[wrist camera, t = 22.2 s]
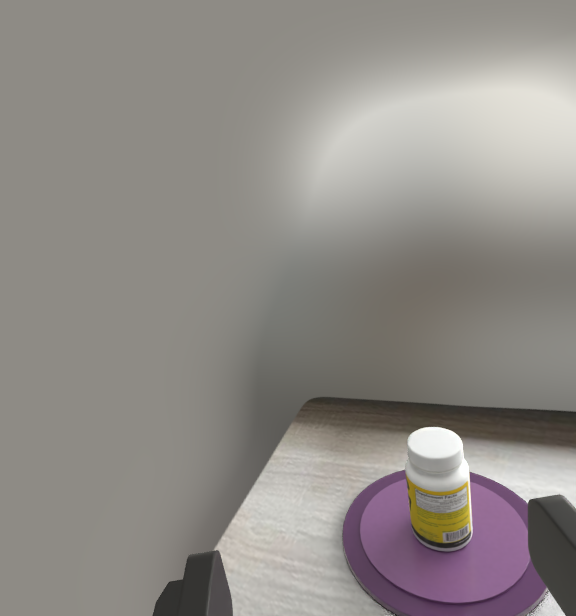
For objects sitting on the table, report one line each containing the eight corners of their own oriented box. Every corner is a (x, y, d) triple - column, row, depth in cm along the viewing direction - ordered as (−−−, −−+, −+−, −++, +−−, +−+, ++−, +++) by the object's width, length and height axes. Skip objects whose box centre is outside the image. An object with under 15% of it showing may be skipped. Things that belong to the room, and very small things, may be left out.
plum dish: (341, 632, 31) (340, 623, 31) (344, 476, 46) (343, 469, 46) (598, 634, 28) (598, 624, 28) (512, 467, 43) (511, 460, 43)
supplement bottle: (421, 502, 40) (413, 419, 37) (478, 517, 37) (474, 429, 35) (403, 542, 36) (393, 453, 34) (465, 562, 34) (459, 467, 31)
